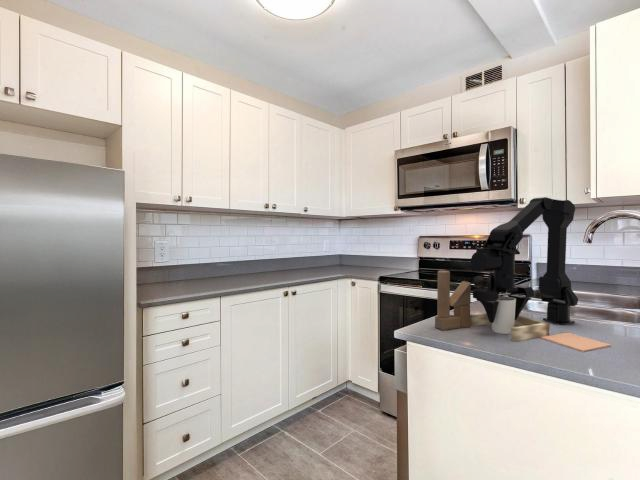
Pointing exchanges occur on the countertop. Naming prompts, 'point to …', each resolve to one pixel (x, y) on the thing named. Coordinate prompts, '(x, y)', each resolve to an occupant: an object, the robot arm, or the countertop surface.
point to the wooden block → (452, 303)
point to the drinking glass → (504, 315)
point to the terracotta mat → (576, 342)
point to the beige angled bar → (517, 326)
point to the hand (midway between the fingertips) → (503, 321)
